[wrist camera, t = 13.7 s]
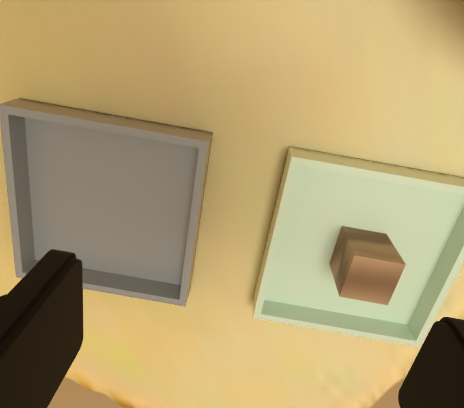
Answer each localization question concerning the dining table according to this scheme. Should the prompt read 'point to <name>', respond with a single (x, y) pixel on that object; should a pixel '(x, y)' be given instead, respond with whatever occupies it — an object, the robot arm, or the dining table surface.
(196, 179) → the grey bin
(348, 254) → the walnut block
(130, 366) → the dining table surface
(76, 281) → the robot arm
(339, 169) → the pale green bin
